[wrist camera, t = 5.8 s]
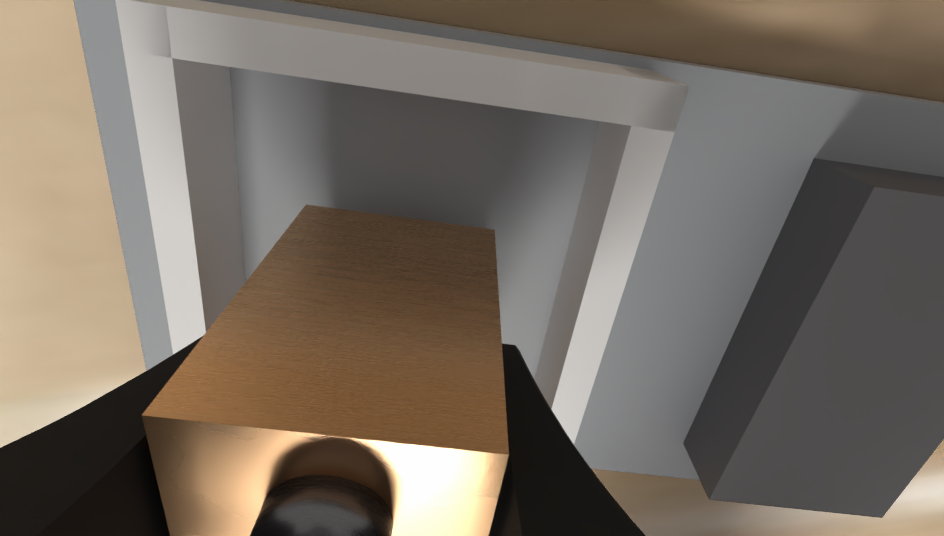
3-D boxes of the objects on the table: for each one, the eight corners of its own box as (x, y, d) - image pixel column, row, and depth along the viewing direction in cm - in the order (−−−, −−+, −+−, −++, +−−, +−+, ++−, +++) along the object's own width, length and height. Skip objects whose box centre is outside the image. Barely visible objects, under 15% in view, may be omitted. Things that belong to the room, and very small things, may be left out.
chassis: (1059, 119, 12) (1235, 156, 9) (826, 470, 18) (893, 561, 15) (100, -29, 11) (-33, -39, 8) (173, 399, 16) (110, 482, 14)
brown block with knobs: (494, 229, 11) (511, 502, 5) (461, 416, 14) (449, 733, 8) (305, 204, 11) (105, 460, 5) (309, 398, 13) (181, 712, 8)
